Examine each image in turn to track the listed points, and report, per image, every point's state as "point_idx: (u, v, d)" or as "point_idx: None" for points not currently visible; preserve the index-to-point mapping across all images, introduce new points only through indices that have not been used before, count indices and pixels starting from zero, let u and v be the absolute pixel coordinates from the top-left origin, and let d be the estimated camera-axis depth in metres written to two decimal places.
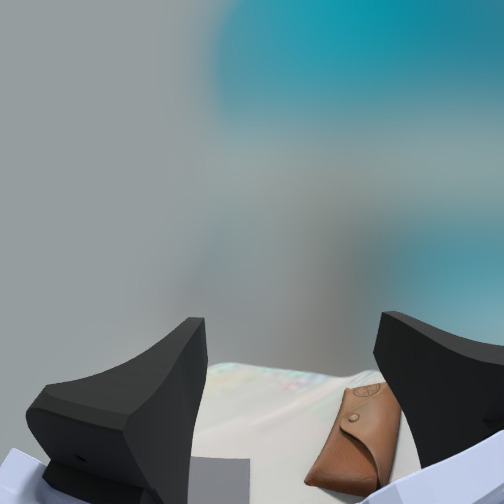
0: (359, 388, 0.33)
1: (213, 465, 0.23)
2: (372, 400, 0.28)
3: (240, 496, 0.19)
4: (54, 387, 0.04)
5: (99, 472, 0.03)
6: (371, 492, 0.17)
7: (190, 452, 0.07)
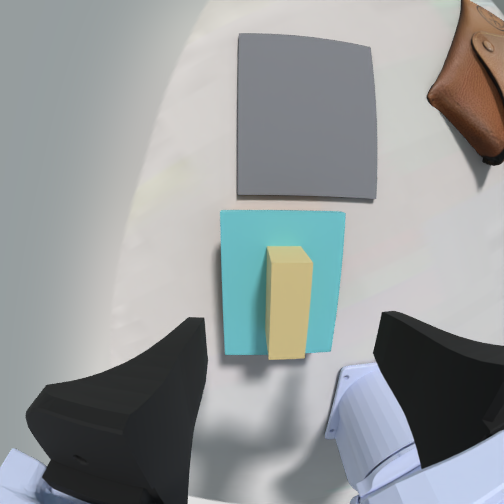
0: (482, 9, 0.11)
1: (319, 50, 0.15)
2: None
3: (365, 109, 0.16)
4: (54, 387, 0.04)
5: (99, 472, 0.03)
6: (487, 154, 0.16)
7: (190, 452, 0.07)
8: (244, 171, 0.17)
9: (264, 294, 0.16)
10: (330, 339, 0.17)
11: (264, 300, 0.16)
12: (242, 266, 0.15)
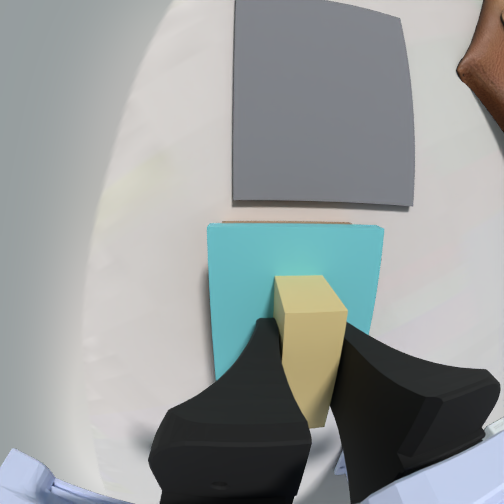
0: None
1: (340, 16, 0.10)
2: None
3: (399, 91, 0.11)
4: (182, 410, 0.04)
5: (239, 493, 0.04)
6: None
7: None
8: (242, 168, 0.12)
9: None
10: None
11: None
12: (239, 303, 0.11)
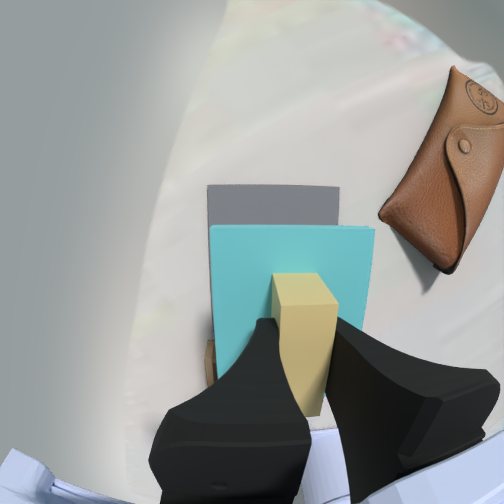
0: (472, 84, 0.16)
1: (286, 201, 0.19)
2: (490, 133, 0.15)
3: None
4: (182, 410, 0.04)
5: (239, 493, 0.04)
6: (437, 263, 0.20)
7: None
8: None
9: None
10: None
11: None
12: (239, 299, 0.12)
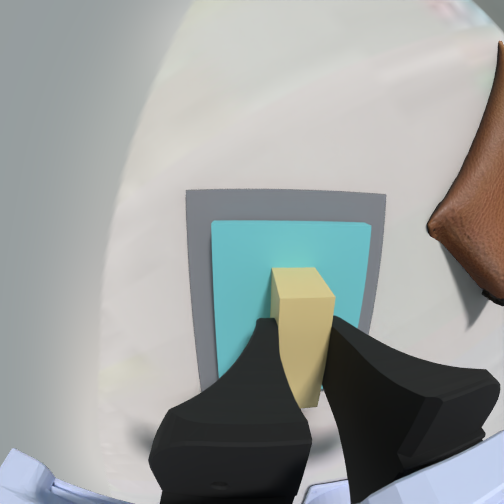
0: None
1: (308, 215, 0.12)
2: None
3: None
4: (182, 410, 0.04)
5: (239, 493, 0.04)
6: (490, 292, 0.13)
7: None
8: (206, 375, 0.14)
9: None
10: None
11: None
12: (239, 292, 0.12)
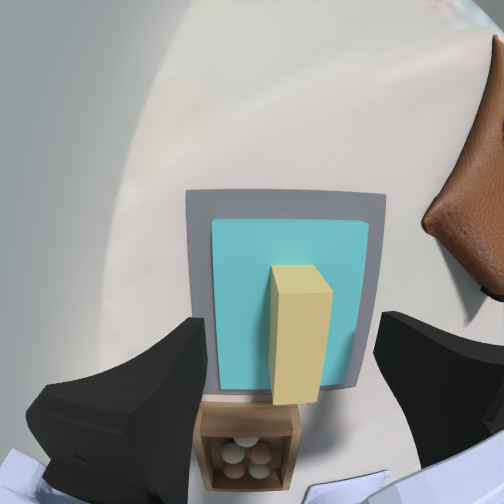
0: None
1: (308, 215, 0.12)
2: None
3: None
4: (54, 387, 0.04)
5: (99, 472, 0.03)
6: (488, 288, 0.13)
7: (190, 452, 0.07)
8: (206, 375, 0.14)
9: (267, 322, 0.13)
10: (344, 370, 0.14)
11: (267, 329, 0.13)
12: (240, 289, 0.12)
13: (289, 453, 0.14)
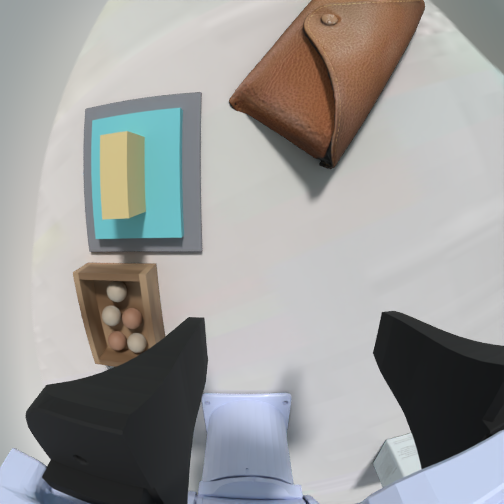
0: None
1: None
2: (369, 6, 0.12)
3: (187, 164, 0.18)
4: (53, 387, 0.04)
5: (99, 472, 0.03)
6: (317, 155, 0.17)
7: (190, 452, 0.07)
8: (91, 233, 0.19)
9: None
10: (179, 223, 0.18)
11: None
12: None
13: (144, 308, 0.19)
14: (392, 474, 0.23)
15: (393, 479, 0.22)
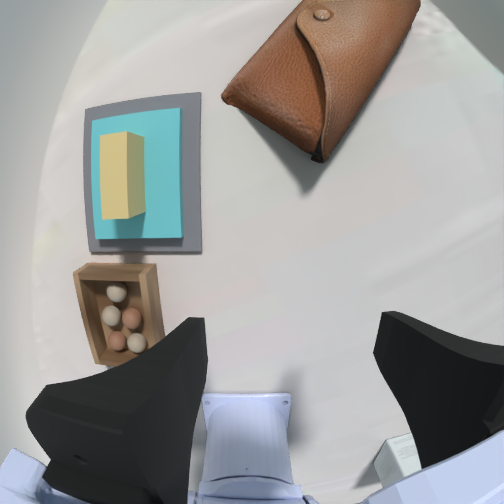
0: None
1: None
2: (362, 2, 0.12)
3: (187, 164, 0.18)
4: (53, 387, 0.04)
5: (99, 472, 0.03)
6: (309, 149, 0.17)
7: (190, 452, 0.07)
8: (91, 233, 0.19)
9: None
10: (178, 223, 0.18)
11: None
12: None
13: (144, 308, 0.19)
14: (392, 474, 0.23)
15: (394, 479, 0.22)
